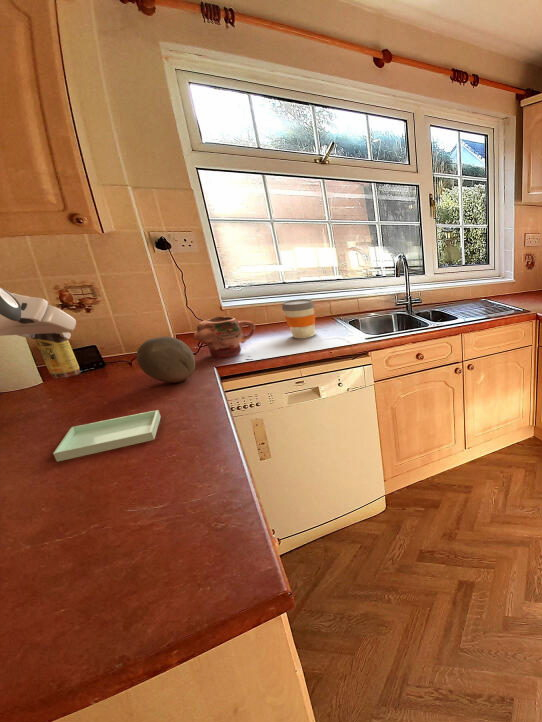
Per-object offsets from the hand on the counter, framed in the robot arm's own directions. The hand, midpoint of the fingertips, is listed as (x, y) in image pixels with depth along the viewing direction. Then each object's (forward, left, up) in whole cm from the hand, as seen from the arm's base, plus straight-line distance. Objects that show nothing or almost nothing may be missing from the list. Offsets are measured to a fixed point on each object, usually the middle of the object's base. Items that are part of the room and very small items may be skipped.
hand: (53, 337), depth 120 cm
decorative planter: (+40, +24, -19) cm, 50 cm away
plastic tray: (+14, -39, -18) cm, 46 cm away
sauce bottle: (0, -1, -12) cm, 12 cm away
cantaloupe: (+23, -2, -19) cm, 30 cm away
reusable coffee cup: (+68, +36, -19) cm, 79 cm away
